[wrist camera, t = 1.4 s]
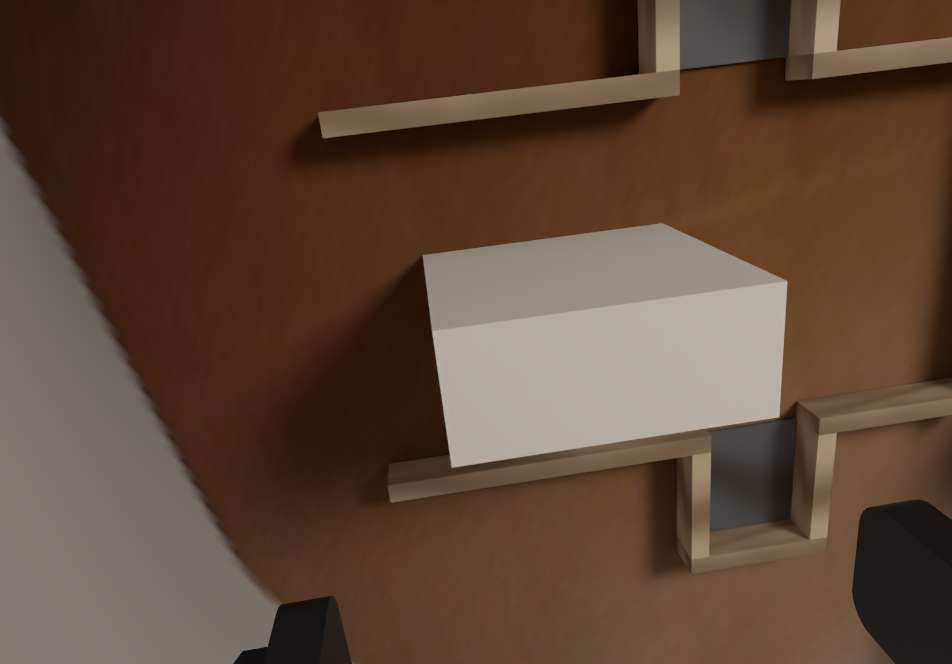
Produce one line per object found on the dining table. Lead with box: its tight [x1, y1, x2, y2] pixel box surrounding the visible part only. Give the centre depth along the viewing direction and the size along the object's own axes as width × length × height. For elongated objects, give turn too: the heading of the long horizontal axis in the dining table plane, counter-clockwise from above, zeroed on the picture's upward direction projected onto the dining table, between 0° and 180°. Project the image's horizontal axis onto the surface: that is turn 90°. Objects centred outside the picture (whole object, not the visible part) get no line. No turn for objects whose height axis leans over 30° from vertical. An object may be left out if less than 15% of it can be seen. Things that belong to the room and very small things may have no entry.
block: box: [423, 223, 787, 468], centre depth 32 cm, size 6×14×13 cm, turn 97°
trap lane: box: [318, 0, 952, 574], centre depth 37 cm, size 41×39×4 cm
